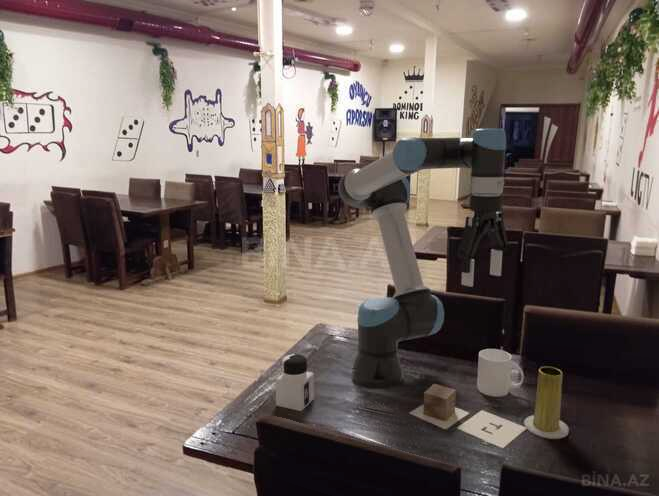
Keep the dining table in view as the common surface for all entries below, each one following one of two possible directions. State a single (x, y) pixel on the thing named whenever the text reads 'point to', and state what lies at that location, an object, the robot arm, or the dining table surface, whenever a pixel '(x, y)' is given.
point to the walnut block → (439, 402)
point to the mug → (496, 372)
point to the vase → (548, 399)
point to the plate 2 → (492, 428)
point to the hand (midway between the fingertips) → (481, 280)
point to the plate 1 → (443, 424)
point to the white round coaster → (551, 435)
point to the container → (294, 383)
